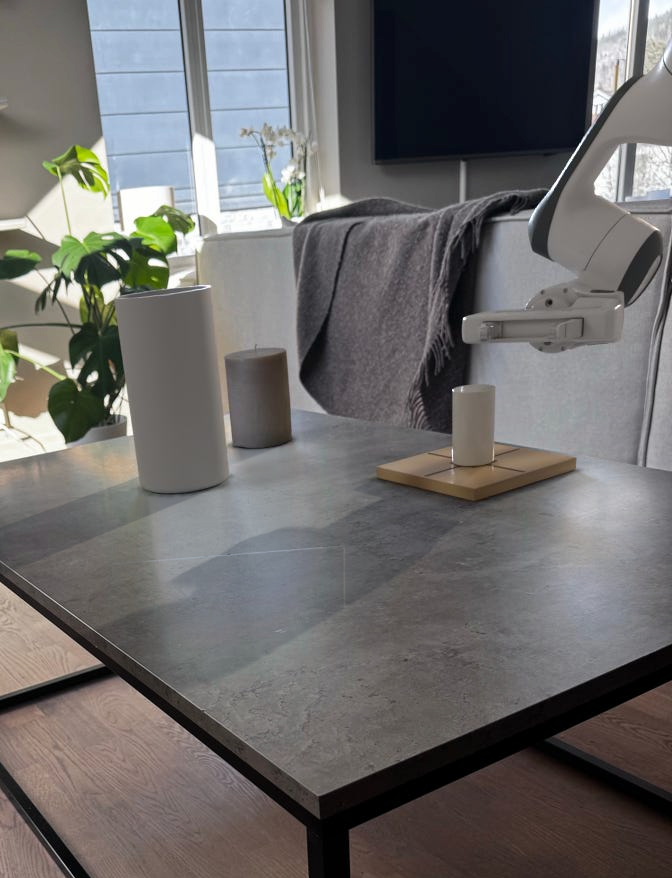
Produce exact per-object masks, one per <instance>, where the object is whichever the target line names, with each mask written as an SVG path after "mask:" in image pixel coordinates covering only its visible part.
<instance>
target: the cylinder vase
mask: <svg viewBox="0 0 672 878" xmlns="http://www.w3.org/2000/svg"><path fill="white" fill-rule="evenodd" d="M212 294H213V293H212V286H211V285H192V286H180V287H171V288H162V289H154V290H147V291H140V292H135V293H134V292H133V293H129V294H124V295H119V296H116V297H113V301H114V307H115V314H116V322H117V327H118V328H117V329H118V338H119V343H120V351H121V358H122V365H123V372H124V378H125V387H126V393H127V400H128V408H129V415H130V422H131V429H132V436H133V444H134V452H135V457H136V465H137V472H138V480H139V485H140V486H141V487H142V488H143V489H144V490H146V491H148V492H151V493H156V494H183V493H191V492H197V491H202V490H206V489H209V488H212V487H215V486H217V485H220V484H221V483H223V482H224V481H225V480H226V479H227V478H228V477H229V474H230V466H229V456H228V447H227V435H226V427H225V417H224V406H223V397H222V386H221V375H220V367H219V366H220V364H219V356H218V346H217V344H218V343H217V336H216V335H217V334H216V325H215V316H214V314H215V313H214V305H213V295H212Z"/></svg>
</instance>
